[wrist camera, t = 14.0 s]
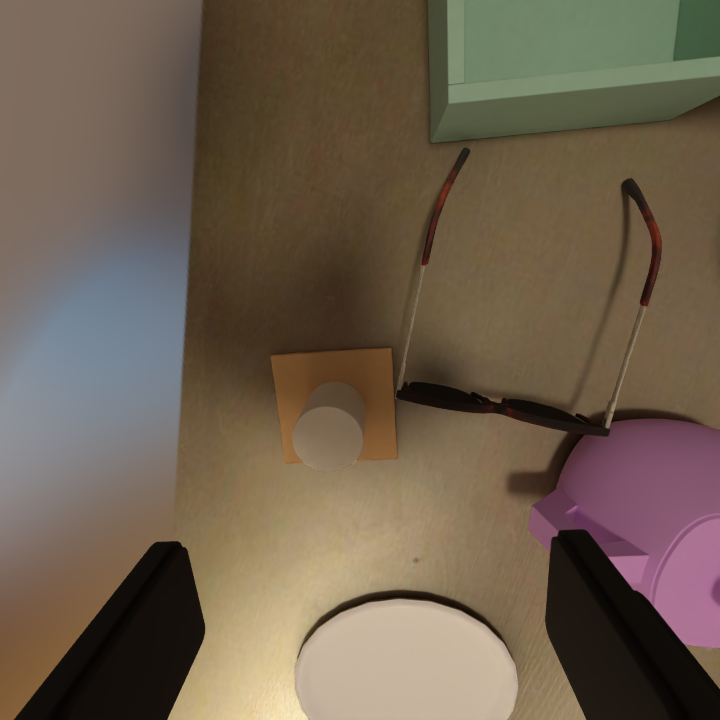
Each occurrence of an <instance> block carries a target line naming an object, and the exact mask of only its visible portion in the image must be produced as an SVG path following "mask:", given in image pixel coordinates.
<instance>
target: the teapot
mask: <svg viewBox="0 0 720 720" xmlns="http://www.w3.org/2000/svg"><path fill="white" fill-rule="evenodd" d="M609 429H610V433H609V436H608V437H602V436H593V435H584V436H583V437H582V438H581V439H580V440H579V442H578V443H577V444H576V446H575V447H574V448H573V450H572V452H571V453H570V455H569V457H568V459H567V461H566V463H565V465H564V467H563V469H562V472H561V474H560V477H559V480H558V483H557V487H556V490H555V491H553V492H552V493H550V494H549V495H547V496H546V497H544V498H543V499H541V500H540V501H538V502H537V503H535V504H533V505H532V508H531V515H530V521H529V528H528V530H529V531H530V532H531V533H532V534H533V535H534V536H535V537H536V538H537V539H538V540H539V542H540V543H541V544H542V545H543V546H544V547H545V548H546V549H547V550H548V551H549V552H550V548H551V539H552V537H555V536H557V535H558V532H559V530H573V529H584V530H587V531H588V532H589V533H590V535H591V536H592V537H593V539H594V540H595V541H596V542H597V544H598V545H599V546H600V548H601V549H602V550H603V551H604V553H605V554H606V555H607V557H608V558H609V559H610V560H611V562H612V563H613V564H614V566H615V567H616V568H617V569H618V571H619V572H620V573H621V575H622V576H623V577H624V578H625V580H626V581H627V582H628V584H629V585H630V586H631V587H632V589H633V590H637V591H638V592H640V593H642V594H643V595H644V596H645V597H646V598H647V599H648V600H649V601H650V603H651V604H652V605H653V606H654V608H655V609H656V610H657V611H658V613H659V614H660V615H661V616H662V618H663V619H664V620H665V621H666V623H667V624H668V625H669V626H670V628H671V629H672V630H673V631H674V633H675V634H676V635H677V636H678V638H679V639H680V640H681V641H682V643H683V644H688V645H694V646H701V647H709V648H720V430H718V429H715V428H711V427H707V426H704V425H700V424H695V423H689V422H684V421H678V420H669V419H632V420H623V421H615V422H611V423H610V426H609Z"/></svg>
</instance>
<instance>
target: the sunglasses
mask: <svg viewBox="0 0 720 720" xmlns="http://www.w3.org/2000/svg"><path fill="white" fill-rule="evenodd" d="M469 153H470V150H469V149H468V148H464V149H463V151H462V152H461V154H460V156H459V159H458V161H457V162H456V164H455V166H454V168H453V170H452V172H451V174H450V176H449V178H448V180H447V182H446V183H445V185H444V188H443V190H442V192H441V194H440V197H439V199H438V202H437V204H436V207H435V210H434V213H433V215H432V219H431V222H430V226H429V230H428V234H427V238H426V243H425V248H424V253H423V258H422V264H421V271H420V277H419V282H418V287H417V292H416V296H415V301H414V306H413V311H412V316H411V321H410V326H409V331H408V336H407V341H406V345H405V350H404V355H403V360H402V364H401V369H400V374H399V379H398V384H397V388H396V393H395V398H396V399H401V400H405V401H409V402H413V403H418V404H422V405H427V406H432V407H436V408H442V409H448V410H455V411H462V412H470V413H497V414H502V415H505V416H508V417H511V418H514V419H517V420H520V421H524V422H528V423H531V424H535V425H539V426H544V427H548V428H552V429H557V430H562V431H567V432H572V433H579V434H585V435H593V436H602V437H608V436H609V433H610V429H609V426H610V423H611V420H612V417H613V413H614V410H615V407H616V401H617V398H618V395H619V391H620V388H621V385H622V381H623V378H624V375H625V372H626V368H627V365H628V362H629V359H630V356H631V353H632V350H633V347H634V344H635V341H636V338H637V335H638V332H639V329H640V325H641V322H642V319H643V316H644V314H645V311H646V308H647V306H648V303H649V300H650V297H651V293H652V290H653V287H654V284H655V281H656V277H657V274H658V270H659V266H660V261H661V252H662V241H661V235H660V232H659V229H658V226H657V224H656V222H655V219H654V217H653V215H652V213H651V211H650V209H649V207H648V205H647V203H646V201H645V199H644V196H643V194H642V192H641V190H640V189H639V187H638V185H637V184H636V183H635V181H634V180H633V179H632V178H630V179H627V180H626V181H625V182H624V184H623V188H624V189H625V190H626V192H627V193H628V194H629V195H630V196H631V197H632V198H633V199H634V200H635V202H636V203H637V205H638V207H639V209H640V211H641V213H642V215H643V218H644V220H645V222H646V224H647V227H648V229H649V232H650V235H651V239H652V259H651V264H650V269H649V273H648V276H647V280H646V283H645V286H644V289H643V293H642V296H641V300H640V304H641V306H640V309H639V312H638V315H637V319H636V322H635V325H634V328H633V331H632V334H631V338H630V341H629V344H628V347H627V351H626V354H625V357H624V360H623V363H622V367H621V370H620V373H619V377H618V380H617V383H616V387H615V390H614V393H613V396H612V399H611V401H609V402H608V406H607V409H606V412H605V416H604V419H603V422H602V425H601V424H599V423H596V422H594V421H592V420H590V419H588V418H586V417H584V416H583V415H581V414H577V413H576V415H575V416H574V415H572V414H570V413H568V412H566V411H564V410H561V409H559V408H556V407H554V406H550V405H546V404H543V403H538V402H534V401H529V400H524V399H517V398H508V399H507V398H503V399H502V401H501V403H496V402H492V401H490V400H489V399H488V398H486V397H483V396H481V395H479V394H477V393H475V392H471V394H469V393H467V392H465V391H463V390H460V389H458V388H455V387H451V386H447V385H442V384H437V383H431V382H423V381H412V382H410V383H409V384H408V385H407V382H404V384H403V387H402V383H403V379H404V374H405V369H406V363H405V362H406V357H407V352H408V347H409V342H410V337H411V332H412V327H413V323H414V318H415V313H416V308H417V303H418V299H419V294H420V289H421V284H422V279H423V274H424V270H425V265H427V264H428V262H429V257H430V253H431V248H432V243H433V238H434V234H435V230H436V226H437V222H438V219H439V216H440V213H441V211H442V208H443V205H444V203H445V200H446V197H447V195H448V193H449V191H450V188H451V186H452V184H453V183H454V181H455V179H456V177H457V175H458V173H459V171H460V169H461V167H462V166H463V164H464V162H465V161H466V159H467V157H468V155H469Z"/></svg>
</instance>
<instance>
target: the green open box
mask: <svg viewBox="0 0 720 720" xmlns="http://www.w3.org/2000/svg"><path fill="white" fill-rule="evenodd" d="M428 38H429V82H430V127H431V143H438V142H448V141H459V140H469V139H479V138H490V137H500V136H511V135H521V134H531V133H542V132H552V131H562V130H573V129H583V128H593V127H604V126H614V125H625V124H635V123H645V122H656V121H666V120H671V119H673V118H675V117H677V116H679V115H681V114H683V113H685V112H687V111H689V110H691V109H694V108H696V107H698V106H700V105H702V104H704V103H706V102H708V101H710V100H712V99H714V98H716V97H718V96H720V0H428Z"/></svg>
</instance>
